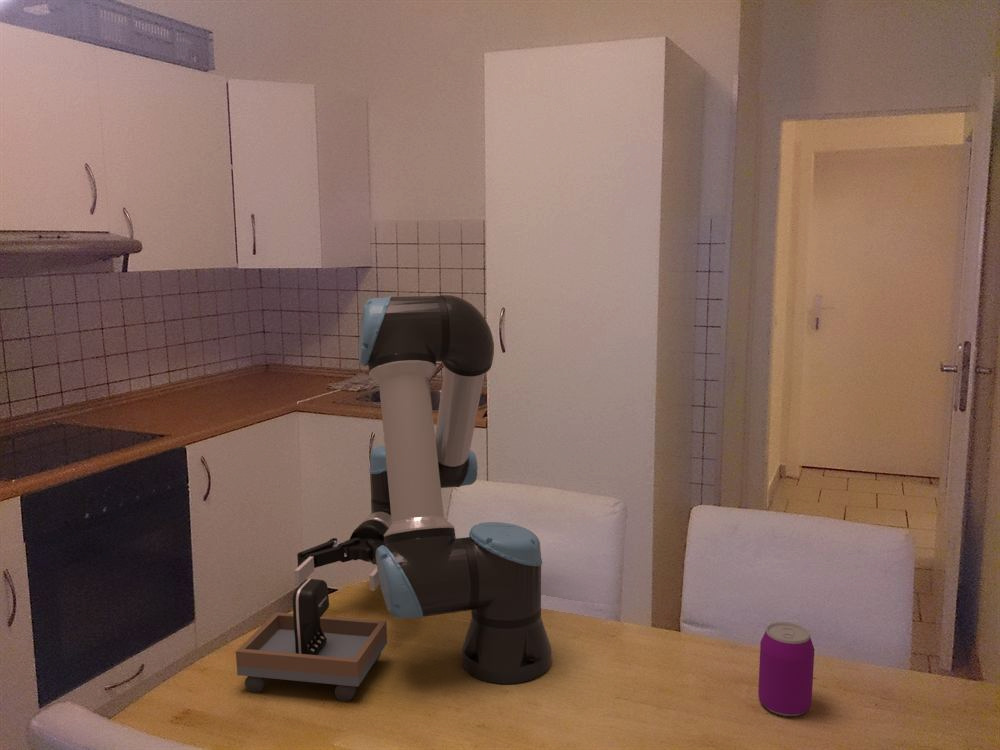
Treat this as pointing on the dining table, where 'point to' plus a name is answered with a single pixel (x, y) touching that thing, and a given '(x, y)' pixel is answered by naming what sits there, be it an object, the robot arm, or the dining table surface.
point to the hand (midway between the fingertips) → (333, 580)
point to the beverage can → (786, 669)
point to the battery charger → (309, 615)
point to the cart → (335, 663)
